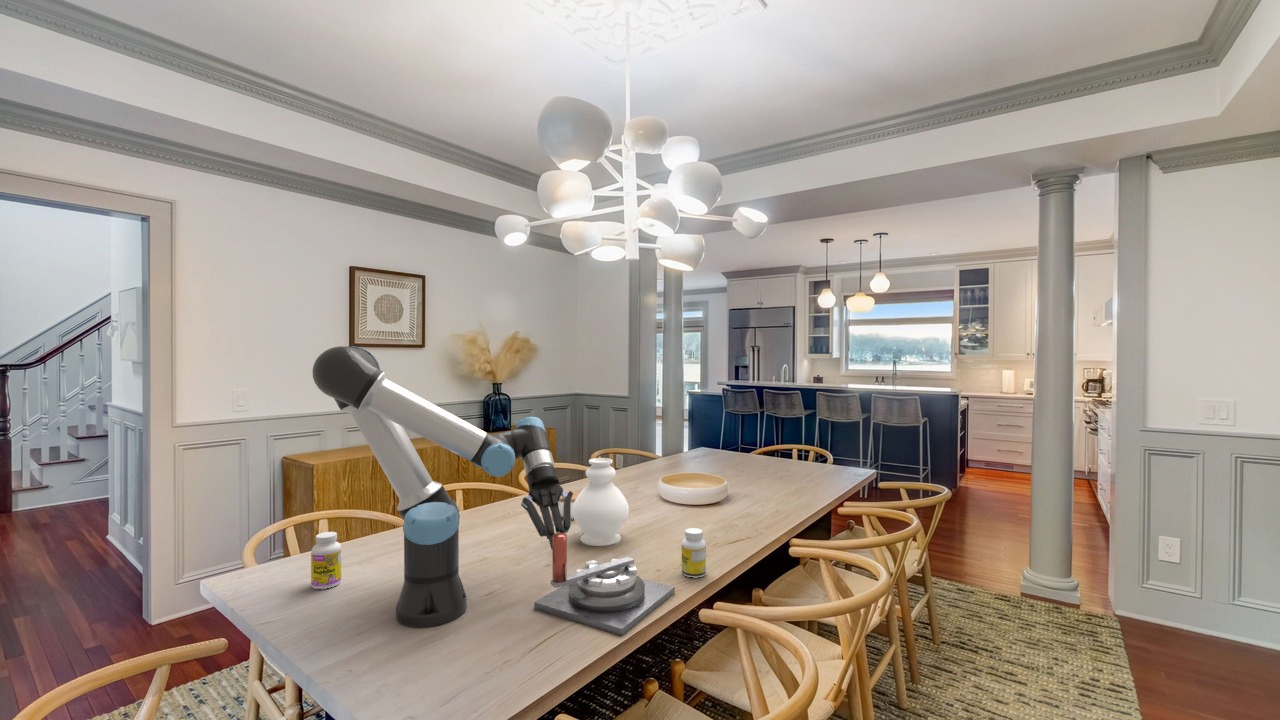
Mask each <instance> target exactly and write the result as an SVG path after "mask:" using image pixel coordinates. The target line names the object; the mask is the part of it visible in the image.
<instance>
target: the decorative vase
mask: <svg viewBox="0 0 1280 720" xmlns="http://www.w3.org/2000/svg"><path fill="white" fill-rule="evenodd" d="M588 464H589V465H590V466H588V468H587V469H586V470H585V477H586V478H587V479H588V480H589V481H590V482H589V483H588V484H587V485H586V486H585V487H584V488H583V489H582V490H581V491H579V492H580V494H579V495H578V497H577V498H576V500H575V502H574V504H573V508H572V515H573V518H574V519H573V520H574V522H575V523H576V525H577V526H578V527H579V529H581V531H582V532H583V533H584V534H582V535H581V537H580V542H581V541H582V542H581V543H583V544H584V545H587V546H593V547H606V546H607V547H608V546H612V545H615V544H617V543H619V542H620V541H621V540H622V539H621V535H620V534H619V533H618V531H619V530H621V528H622V526H623V525H624V524H625V523H626V521H627V519H628V517H629V514H630V510H629V509H630V507H629V503H628V500H627V499H626V496H625V495H624V494H623V493H622V492H621V490H620V489H619V488H618V487H617V486H616V485H615V484H614V483H613V482H612V480H613V479H614V478H615V477H616V474H617V473H616V469H615V468H614V467H613V466H611V465H612V464H613V459H612V458H608V457H595V458H590V459H589V460H588Z"/></svg>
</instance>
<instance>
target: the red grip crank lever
mask: <svg viewBox="0 0 1280 720" xmlns="http://www.w3.org/2000/svg"><path fill="white" fill-rule="evenodd" d="M554 533H555V534H553V535H552V549H551V550H552V557H551V559H552V560H551V561H552V569H551V570H552V571H551V573H552V575H551V576H552V577H551V578H552V579H550V585H551V586H553V587H554V588H555V589H558V588H560V587H562V586H564V585H568V584H571V583H574V582H577V587H578V589H579V590H580V591H581V592H583V593H585V594H588V595H592V596H598V597H612V596H618V595H622V594H626V593H628V592H630V591H631V590H633V589H634V588H635V586H636V576H637V574H638V569H637V567H636V565H633V564H635V558H632V557H630V556H626V557H622V558H619V559H618V558H612V559H611V560H610V561H609V562H599V561H597V560H595V559H592V560H588V561H585V562H584V567H582V568H578V569H575V570H576V571H575V572H574V573H573V572H572V573H570V574H568V569H567V568H568V534H567V533H556V532H554Z"/></svg>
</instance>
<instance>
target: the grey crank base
mask: <svg viewBox="0 0 1280 720" xmlns="http://www.w3.org/2000/svg"><path fill="white" fill-rule="evenodd" d="M675 588H676V587H675V586H672V585H668V584H666V583H665V584H664V583H660V582H656V581H651V580H647V579H644V578H641V577H639V576H638V575H636V586H635V588H634V589H633V590H631V591H630V592H628V593H626V594H622V595H618V596H612V597H598V596H592V595H588V594H585V593H583V592H581V591H580V590H579V589H578V587H577V582H574V583H571V584H568V585H564V586H561V587H558V588H555V589H554V590H553V591H551V592H549V593H548V594H546V595H544V596H542V597H541V598H539V599H537V600H536V601H534V603H533V604H534V605H533V609H535V610H538V611H541V612H543V613H547V614H550V615H554V616H557V617H560V618H563V619H567V620H569V621H573V622H576V623H579V624H582V625H586V626H589V627H592V628H594V629H595V628H596V629H598V630H601V631H604V632H605V631H606V632H609V633H611V634H615V635H618V636H621V637H623V636H624V635H625V634H626V633H627V632H629V631H631V629H632V628H634V627H635V626H636V625H638V623H640V622H641V621H642V620H644V619H645V618H646V617H647V616H648V615H650V614H651V613H652V612H653V611H655V610H656V609H657V608H658V607H659V606H661V605H663V603H664V602H666V601H667V600H668V599H670V598H671V597H672V596H673V595H674V594H675V593H676V590H675ZM673 593H674V594H673ZM671 595H672V596H671ZM666 599H667V600H666ZM665 600H666V601H665ZM660 604H661V605H660Z"/></svg>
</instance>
